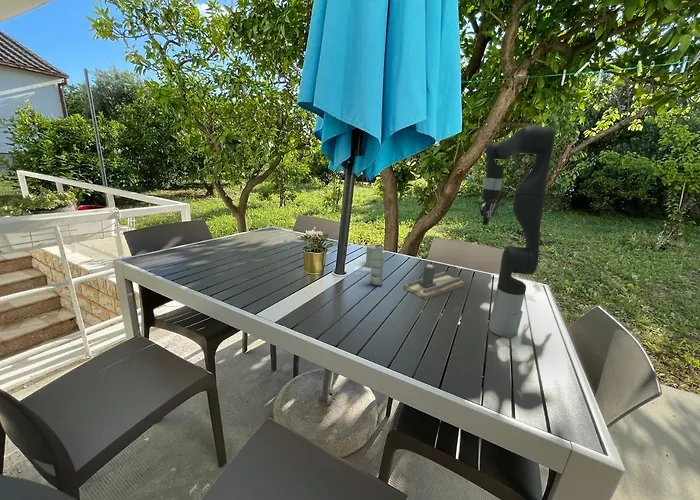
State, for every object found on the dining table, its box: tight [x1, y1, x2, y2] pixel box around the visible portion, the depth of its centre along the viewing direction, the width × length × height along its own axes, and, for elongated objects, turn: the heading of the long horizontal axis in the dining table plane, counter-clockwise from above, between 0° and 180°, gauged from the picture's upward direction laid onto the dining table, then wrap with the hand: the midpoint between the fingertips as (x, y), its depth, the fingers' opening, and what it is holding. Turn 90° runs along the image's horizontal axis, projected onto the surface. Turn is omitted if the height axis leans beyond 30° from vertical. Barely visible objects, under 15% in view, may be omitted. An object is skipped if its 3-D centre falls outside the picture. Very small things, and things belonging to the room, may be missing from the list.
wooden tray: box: [402, 271, 466, 301], centre depth 155 cm, size 14×30×4 cm, turn 128°
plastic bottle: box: [369, 244, 386, 286], centre depth 152 cm, size 6×7×20 cm
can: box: [365, 243, 379, 269], centre depth 179 cm, size 9×9×12 cm
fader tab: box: [419, 264, 436, 288], centre depth 150 cm, size 6×5×10 cm
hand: (485, 224), depth 150 cm, fingers closed
